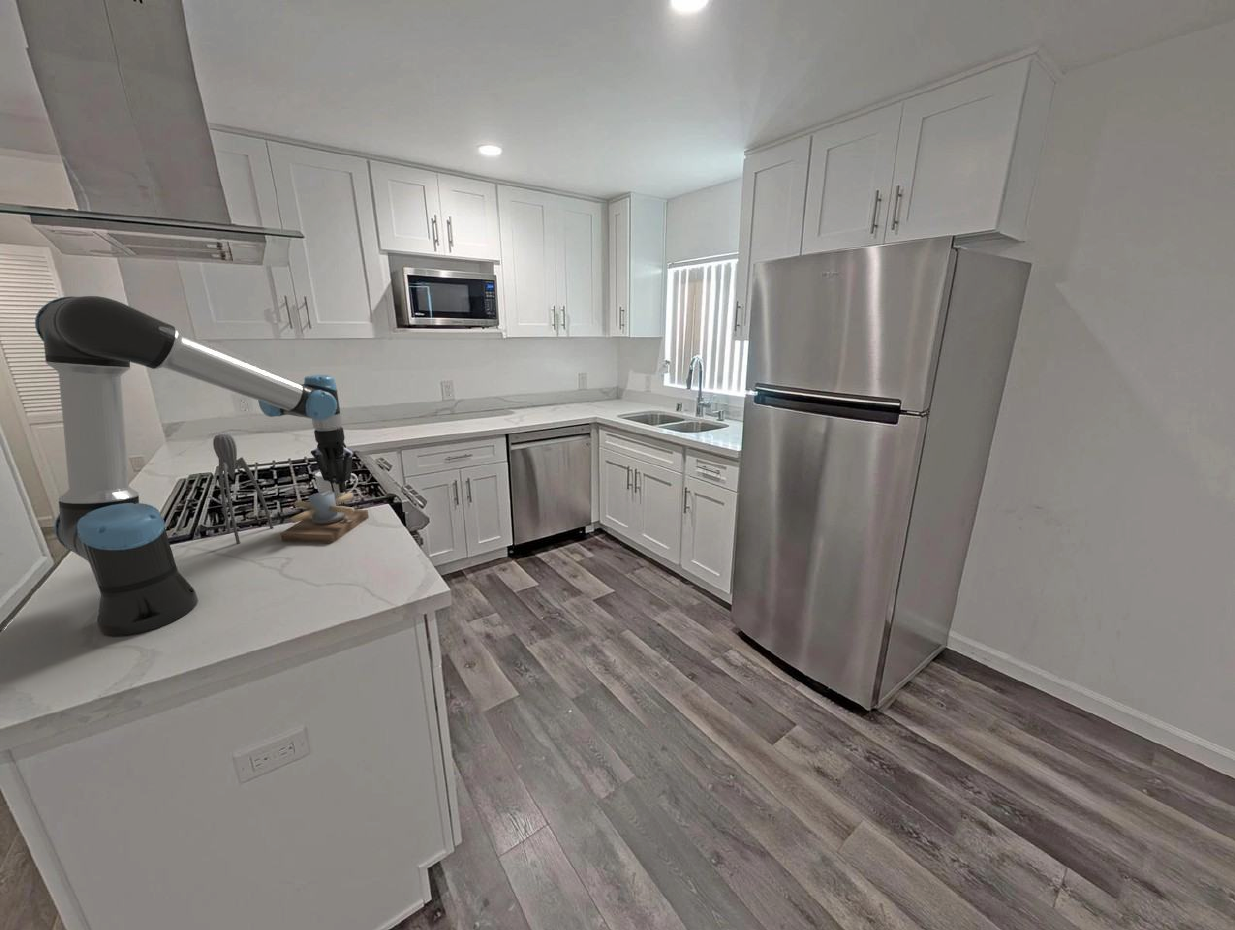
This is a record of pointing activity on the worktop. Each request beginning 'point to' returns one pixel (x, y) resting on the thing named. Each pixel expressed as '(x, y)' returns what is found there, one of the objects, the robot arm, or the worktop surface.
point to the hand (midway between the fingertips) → (341, 501)
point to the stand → (323, 529)
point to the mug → (326, 485)
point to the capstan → (323, 508)
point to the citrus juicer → (232, 476)
